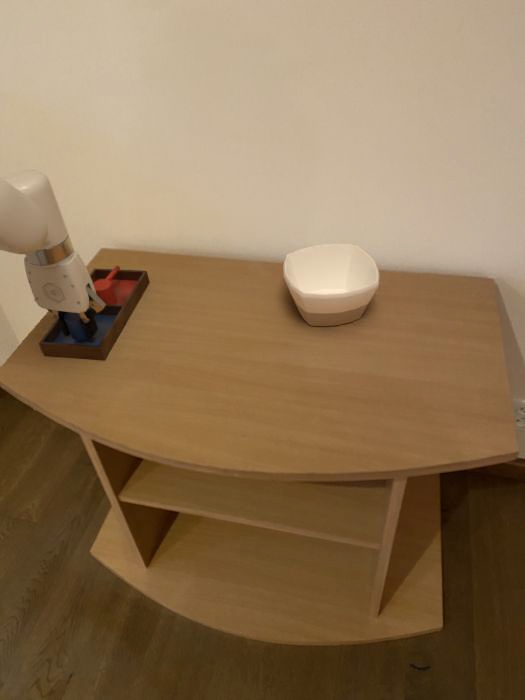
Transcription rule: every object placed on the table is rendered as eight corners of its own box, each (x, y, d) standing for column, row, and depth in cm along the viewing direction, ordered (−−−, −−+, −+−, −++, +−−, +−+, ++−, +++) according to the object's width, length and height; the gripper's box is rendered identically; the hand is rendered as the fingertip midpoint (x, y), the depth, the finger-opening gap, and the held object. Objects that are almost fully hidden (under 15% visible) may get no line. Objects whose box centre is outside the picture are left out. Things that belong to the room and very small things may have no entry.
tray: (104, 360, 93) (100, 347, 91) (44, 355, 95) (38, 343, 93) (149, 282, 112) (146, 270, 110) (98, 280, 114) (94, 268, 112)
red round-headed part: (111, 309, 104) (105, 291, 101) (93, 307, 105) (87, 289, 102) (131, 283, 110) (126, 265, 107) (114, 281, 111) (109, 263, 108)
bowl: (276, 288, 107) (274, 249, 101) (358, 277, 108) (361, 237, 102) (294, 342, 94) (293, 301, 87) (387, 328, 95) (392, 287, 89)
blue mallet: (86, 341, 94) (78, 322, 91) (67, 338, 95) (59, 320, 92) (109, 310, 101) (103, 292, 98) (92, 308, 102) (85, 290, 99)
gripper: (-9, 256, 83) (32, 340, 95) (82, 265, 79) (112, 351, 92) (18, 233, 89) (54, 316, 101) (104, 241, 85) (130, 325, 97)
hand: (81, 332), depth 96 cm, fingers closed on blue mallet, 4 cm apart
